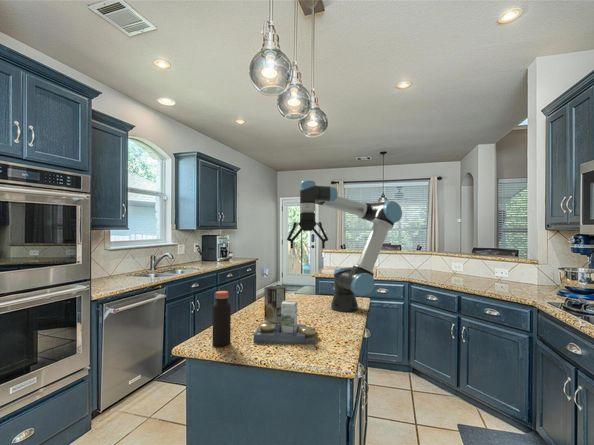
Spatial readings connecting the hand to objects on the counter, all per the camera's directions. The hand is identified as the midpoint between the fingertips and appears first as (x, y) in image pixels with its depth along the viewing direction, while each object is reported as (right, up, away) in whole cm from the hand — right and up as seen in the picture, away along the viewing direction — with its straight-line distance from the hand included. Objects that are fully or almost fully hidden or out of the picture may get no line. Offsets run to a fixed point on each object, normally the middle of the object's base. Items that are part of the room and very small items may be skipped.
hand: (307, 255), depth 155 cm
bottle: (-34, -31, -34) cm, 57 cm away
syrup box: (-8, -31, -25) cm, 41 cm away
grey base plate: (-7, -31, -26) cm, 41 cm away
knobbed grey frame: (-12, -31, -25) cm, 42 cm away
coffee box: (-16, -32, -1) cm, 36 cm away
